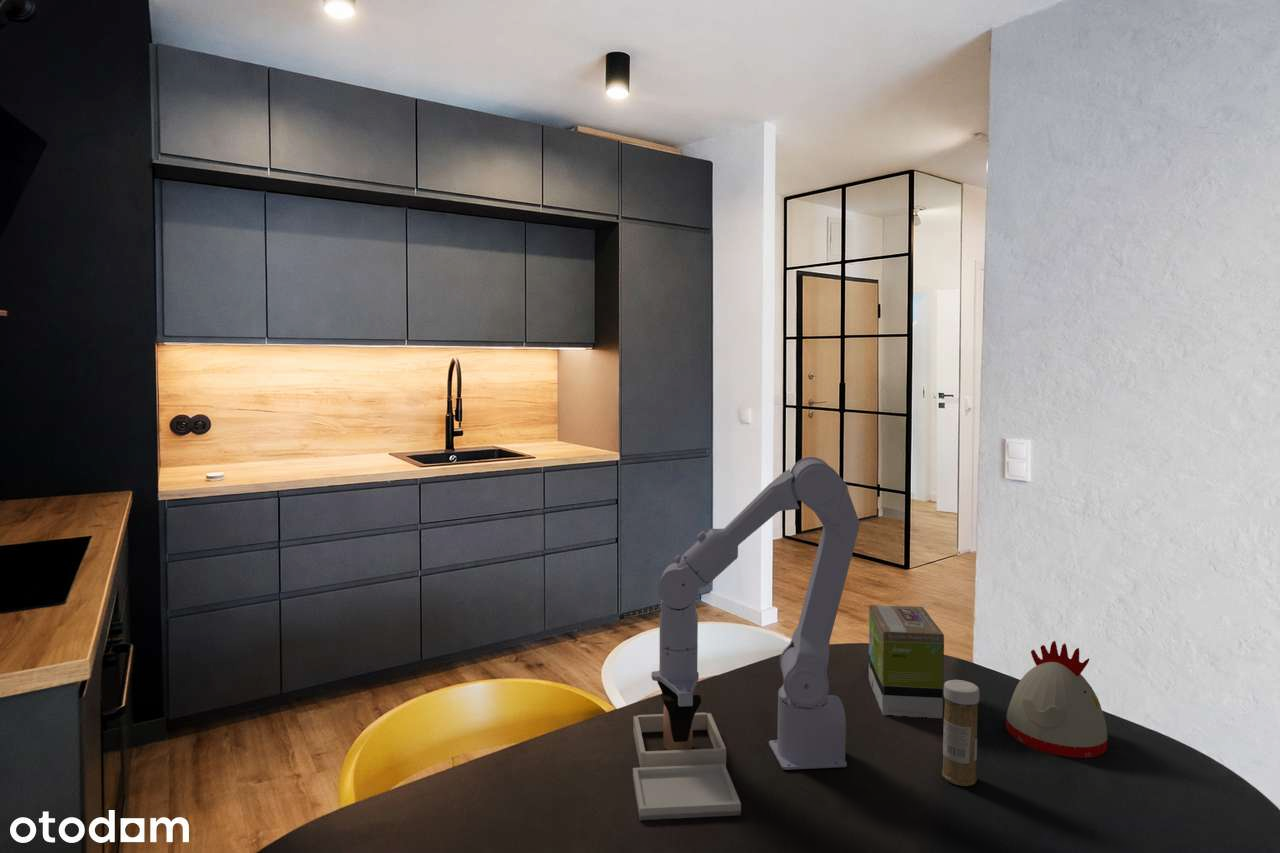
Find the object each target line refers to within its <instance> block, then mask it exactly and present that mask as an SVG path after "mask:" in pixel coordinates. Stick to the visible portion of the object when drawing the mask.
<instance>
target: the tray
mask: <svg viewBox="0 0 1280 853" xmlns="http://www.w3.org/2000/svg"><path fill="white" fill-rule="evenodd" d="M726 766H727V765H726ZM726 766H725V764H708V765H686V766H663V767H641V768H640V767H632V781H633V783H632V784H633V787H634V795H635V802H636V807H637V812H638V820H639V821H651V820H669V819H670V820H672V819H689V818H692V819H693V818H706V817H707V818H710V817H731V816H742V803H741V801H740V798H739V795H738V793H737V790H736V788H735V786H734V783H733V781H732V778H731V776H730V774H729V772H728V769H727V767H726Z"/></svg>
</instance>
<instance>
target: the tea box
mask: <svg viewBox="0 0 1280 853" xmlns="http://www.w3.org/2000/svg"><path fill="white" fill-rule="evenodd" d="M868 609H869V610H868V612H869V613H868V622H869V623H868V680H869V683H870V687H871V690H872V691H873V694H874V696H875V697H874V698H875V700H876V702H877V705H878V707H879V710H880V711H881V712H880V713H881V714H882V716H887V715H894V716H893V717H901V716H907V717H906V718H919V717H920V718H921V717H924V718H923V719H942V718H943V716H944V713H943V711H944V667H945V666H944V665H945V664H944V659H945V658H944V657H945V656H944V654H945V634H944V632H942V630H941V629H940V627H939V626H938V625H937V623H936V622H935V621H934V620H933V618H932V617H931V616H930V614H929V613H928V612H927V610H925V608H924V607H923V606H909V605H908V606H907V605H906V606H905V605H904V606H903V605H902V606H901V605H874V604H873V605H871V604H869V607H868ZM925 717H927V718H925ZM920 718H919V719H920ZM921 719H922V718H921Z"/></svg>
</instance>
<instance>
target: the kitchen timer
mask: <svg viewBox="0 0 1280 853" xmlns="http://www.w3.org/2000/svg"><path fill="white" fill-rule="evenodd" d="M1049 649H1050V650H1049V651H1048V649H1047V647H1046V646H1045V645H1044V644H1042V645H1041V646H1040V652H1041V656H1042V658H1040V657H1039V656H1038V654H1037V652H1036V650H1035V649H1032V650H1030V655H1031V657H1032V659H1033V662H1034V664H1035V666H1033V667H1032V668H1031V669H1030V670H1028V671H1027V672H1026V673H1025V674H1024V675H1023V676H1022V678H1021V679H1020V680H1019V682H1018V683H1017V685H1016V687H1015V689H1014V692H1013V694H1012V697H1011V699H1010V702H1009V705H1008V708H1007V711H1006V722H1005V727H1006V730H1007V732H1008V734H1010V736H1012V738H1014V739H1015V740H1017V741H1018V742H1020V743H1022V744H1023V745H1024V746H1027V747H1030V748H1032V749H1035V750H1037V751H1041V752H1043V753H1044V752H1045V753H1047V754H1051V755H1055V756H1060V757H1066V758H1078V759H1079V758H1080V759H1082V758H1083V759H1084V758H1095V757H1098V756H1101V755H1103V754H1104V753H1105V752H1106V751H1107V749H1108V727H1107V724H1106V719H1105V716H1104V715H1105V714H1104V712H1103V710H1102V705H1101V702H1100V700H1099V698H1098V695H1097V694H1096V693H1095V691H1094V689H1093V687H1092V686H1091V685H1090V683H1089V682H1088V681H1087V680H1086V678H1085V677H1084V676H1083V675H1082V672H1083V671H1084V670H1085V668H1086V667H1087V665H1088V664H1089V661H1090V658H1087V659H1086V660H1084V661H1083V662H1081V661H1080V648H1079V647H1077V648H1076V649H1075V650H1074V652H1073V654H1072V656H1071V658H1069V653H1068V647H1067V644H1066V643H1063V644H1062V645H1061V649H1060V654H1059V650H1058V645H1057V642H1056V640H1053V641H1052V642H1051V644H1050V648H1049Z"/></svg>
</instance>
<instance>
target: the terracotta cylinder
mask: <svg viewBox="0 0 1280 853" xmlns="http://www.w3.org/2000/svg"><path fill="white" fill-rule="evenodd" d="M662 714H663V731H662V733H663V734H662V735H663V738H662V739H663V742H662V744H663V747H664V749H665V751H667V750H691V749H692V748H693V734H694V733H693V731H694V730H693V721H692V725H691V730H690V734H689V738H688V741H687V742H674V740H673V737H672V733H671V726H670V719H669V714H668V710H667V708H666V706H665V704H664V703H663V713H662Z"/></svg>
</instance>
